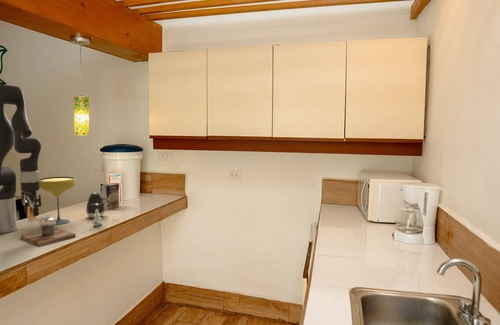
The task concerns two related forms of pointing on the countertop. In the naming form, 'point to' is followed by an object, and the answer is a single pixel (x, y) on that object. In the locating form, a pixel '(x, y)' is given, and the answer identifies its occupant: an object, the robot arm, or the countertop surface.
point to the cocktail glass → (57, 190)
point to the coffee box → (110, 196)
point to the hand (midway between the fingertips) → (31, 214)
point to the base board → (47, 236)
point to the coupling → (40, 218)
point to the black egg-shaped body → (92, 199)
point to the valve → (97, 215)
